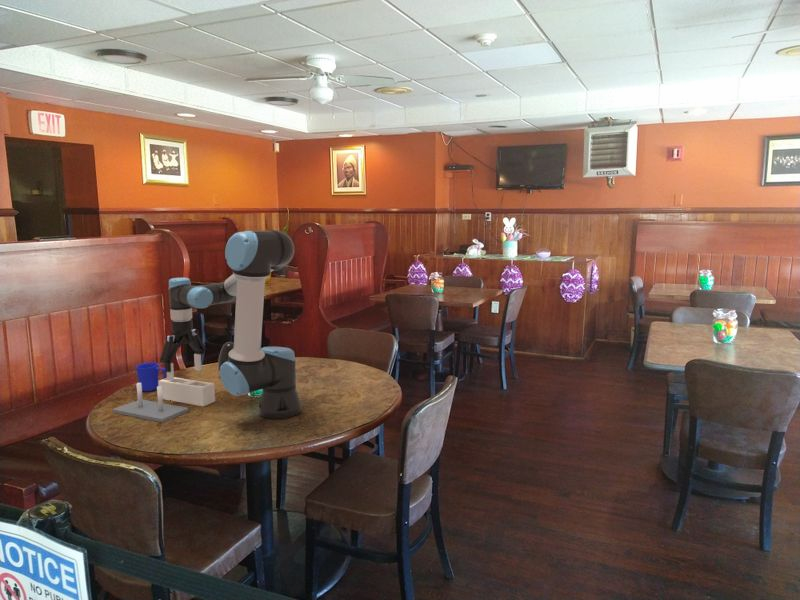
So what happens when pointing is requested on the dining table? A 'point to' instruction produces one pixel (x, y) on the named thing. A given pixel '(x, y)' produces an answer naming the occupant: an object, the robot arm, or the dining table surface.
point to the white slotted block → (188, 391)
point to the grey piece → (151, 408)
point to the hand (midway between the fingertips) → (184, 375)
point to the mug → (149, 375)
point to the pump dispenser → (225, 353)
